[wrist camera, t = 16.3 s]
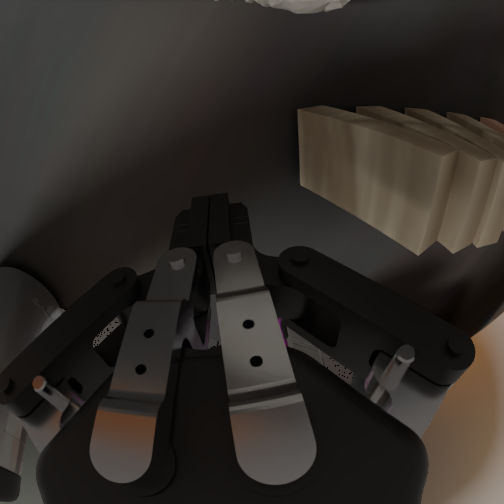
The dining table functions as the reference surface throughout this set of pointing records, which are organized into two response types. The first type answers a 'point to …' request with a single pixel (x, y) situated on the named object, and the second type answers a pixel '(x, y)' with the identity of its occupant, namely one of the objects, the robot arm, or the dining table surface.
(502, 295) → the dining table surface
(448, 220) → the tile
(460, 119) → the tile
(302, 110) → the tile
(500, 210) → the tile
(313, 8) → the fossil replica
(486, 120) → the tile
